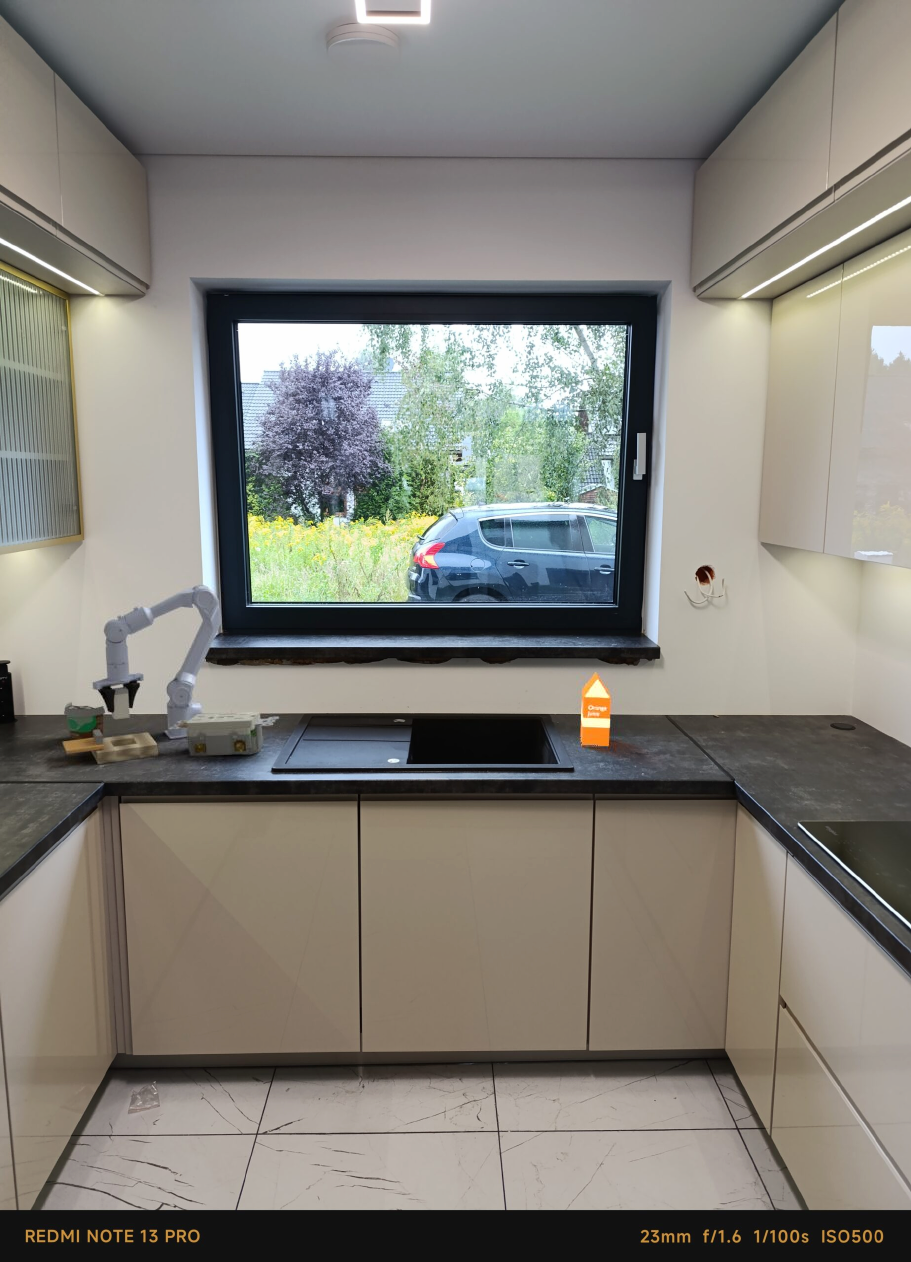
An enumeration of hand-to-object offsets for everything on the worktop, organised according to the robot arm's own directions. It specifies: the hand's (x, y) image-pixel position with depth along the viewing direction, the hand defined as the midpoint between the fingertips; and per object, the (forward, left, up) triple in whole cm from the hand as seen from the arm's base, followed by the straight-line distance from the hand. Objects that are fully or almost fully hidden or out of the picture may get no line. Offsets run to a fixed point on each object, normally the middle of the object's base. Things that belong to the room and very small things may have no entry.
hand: (120, 709), depth 237 cm
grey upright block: (0, 0, -2) cm, 2 cm away
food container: (+10, -5, -9) cm, 15 cm away
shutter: (+11, +12, -6) cm, 18 cm away
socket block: (+2, +12, -9) cm, 15 cm away
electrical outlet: (-23, +23, -9) cm, 34 cm away
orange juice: (-117, +67, -9) cm, 135 cm away
